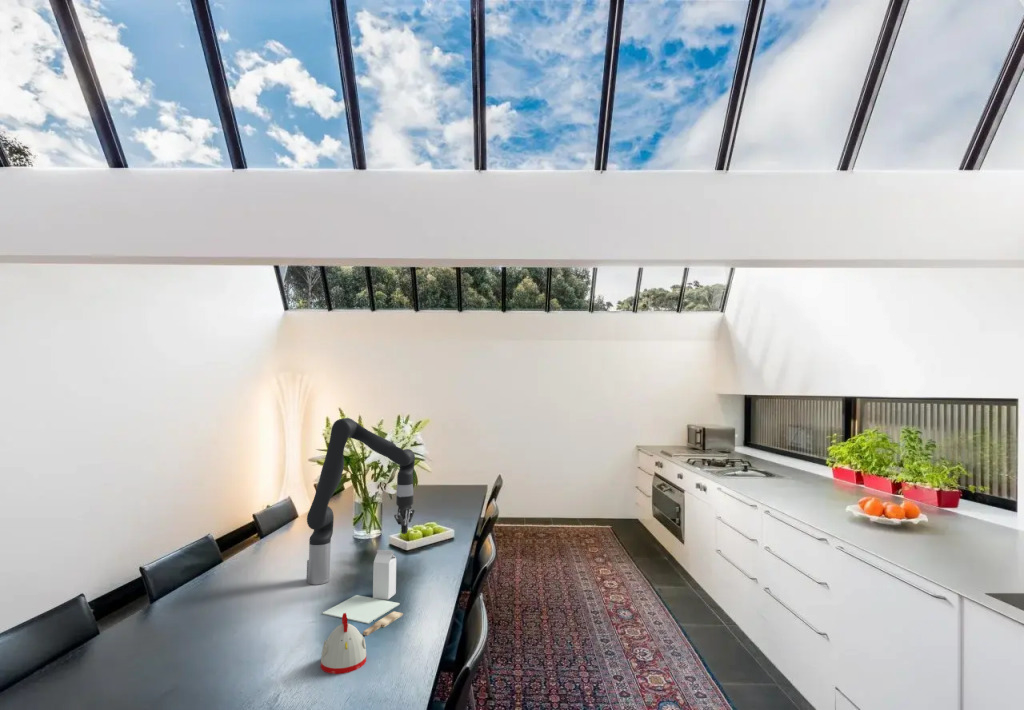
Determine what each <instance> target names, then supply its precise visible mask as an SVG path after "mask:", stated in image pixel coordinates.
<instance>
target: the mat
mask: <svg viewBox="0 0 1024 710" xmlns="http://www.w3.org/2000/svg"><path fill="white" fill-rule="evenodd" d="M399 605H401V603H400V602H394V601H392V600H385V599H375V598H373V597H370V596H365V595H364V596H363V595H359V594H355V595H353V596H352V597H350V598H348V599H346V600H344V601H342V602H340V603H338V604H337V605H335V606H333V607H330V608H328V609H326V610H325V611H323V612H322V614H321V615H325V616H330V617H336V618H338V619H339V618H341V619H342V617H343V613H346V615H347V621H348V620H349V621H354V622H358V623H363V624H368V625H369V624H370V623H372V622H374V621H375V620H377V619H379V618H380V617H382V616H384V615H385V614H386V613H388V612H390V611H392V610H393V609H395V608H397V607H398V606H399ZM373 620H374V621H373Z"/></svg>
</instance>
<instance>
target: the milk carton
mask: <svg viewBox="0 0 1024 710" xmlns="http://www.w3.org/2000/svg"><path fill="white" fill-rule="evenodd" d="M376 552H377V553H376V555H375V558H374V561H373V567H372V569H373V573H372V574H373V575H372V576H373V577H372V580H373V581H372V598H375V599H380V600H385V601H390V599H391V598H392V597H393V596H395V595H396V592H397V589H396V588H397V557H396V555H395V554H394V550H388V549H387V550H386V549H377V551H376Z"/></svg>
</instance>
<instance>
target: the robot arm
mask: <svg viewBox="0 0 1024 710" xmlns="http://www.w3.org/2000/svg"><path fill="white" fill-rule="evenodd" d="M349 438H350V439H352V440H353V439H354V440H356V441H358V442H360V443H363V444H364V445H366V446H367V447H368V448H369V449H371V450H372V451H374V452H375V453H377V454H379V455H381V456H383V457H386V458H388V459H389V460H390V461H392V462H393V463H395V464H396V465H398V466H399V470H398V472H397V474H396V475H397V477H396V495H395V496H396V497H395V499H396V501H395V504H396V506H397V513H396V514H394V515H393V517H394V520H395V521H396V523H397V524H398V525H400V527H401V528H400V531H401V532H400V533H401V534H403V535H405V534H408V527H409V526H408V525H409V523H411V522H412V519H413V517H414V514H415V509H413V508H412V506H413V505H414V469H415V462H416V457H415V452H414V451H413V450H411V449H410V448H406V449H403V448H400V447H398V446H397V445H396V444H395V443H394V442H393V441H391V440H388V439H386V438H384V437H382V436H379V435H378V434H376V433H374V432H372V431H370V430H368V429H367V428H366V427H364V426H362V425H361V424H359V423H358V422H357V421H355V420H354V419H352V418H349V417H343V418H339V419H337V420H335V421H334V422H333V424H332V427H331V431H330V437H329V443H328V447H327V450H326V451H327V452H326V455H325V458H324V461H323V464H322V468H321V471H320V474H319V475H320V476H319V478H318V479H319V480H318V483H317V487H316V489H315V490H316V491H315V493H314V497H313V500H312V503H311V506H310V508H309V510H308V512H307V516H306V524H307V525H308V527H309V528H310V530H313V532H312V533H311V535H310V536H309V540H308V541H309V543H308V544H309V545H308V559H307V561H306V579H305V580H306V583H308V584H309V585H315V586H316V585H317V586H318V585H323V584H327V583H329V582H330V578H331V573H330V572H331V548H332V547H331V544H332V543H331V542H332V536H333V533H334V523H335V522H334V521H335V520H334V518H335V517H334V516H335V515H334V511H333V509H332V508H331V507H330V506H329V503H330V500H331V498H332V497H333V495H334V493H335V492H336V490H337V488H338V487H339V484H340V483H341V480H342V476H343V472H344V467H345V463H344V461H345V459H344V452H345V447H346V444H347V441H348V439H349Z"/></svg>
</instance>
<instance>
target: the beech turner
mask: <svg viewBox="0 0 1024 710" xmlns="http://www.w3.org/2000/svg"><path fill="white" fill-rule="evenodd" d="M402 616H404V613H403V612H398V611H391V612H390V613H389V614H387V615H385V616H384V617H382V618H380V619H379V620H377V621H376V622H374V623H373V624H372V625H371V626H369V627H367V628H366V629H364V630H363V631H362V635H363V636H369V635H371V634H372V633H375V631H377V630H379V629H380V628H385V627H387V626H388V625H390V624H391V623H393V622H395V621H396V620H397V619H399V618H401V617H402Z"/></svg>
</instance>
